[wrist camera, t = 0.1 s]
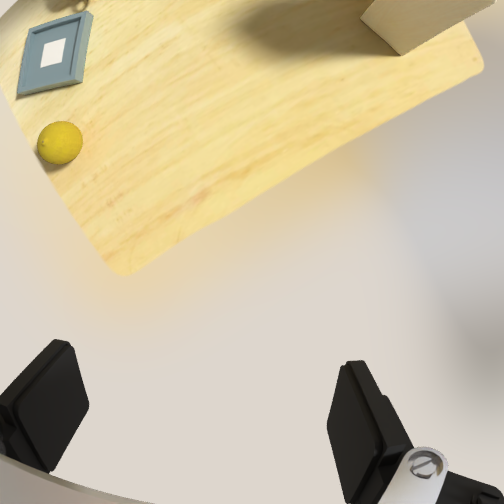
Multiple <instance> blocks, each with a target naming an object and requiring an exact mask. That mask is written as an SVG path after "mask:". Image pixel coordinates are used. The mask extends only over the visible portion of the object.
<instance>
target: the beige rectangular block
mask: <svg viewBox="0 0 504 504" xmlns="http://www.w3.org/2000/svg"><path fill="white" fill-rule="evenodd" d="M496 1H497V0H374V1H373V3H372V4H371V5H370V6H369V7H368V9H367V10H366V11H365V12H364V13H363V15H362V16H361V17H360V19H361V20H362V21H363V22H364V23H365V24H366V25H367V26H369V27H370V28H371V29H372V30H373V31H374V32H376V33H377V34H378V35H379V36H380V37H381V38H382V39H383V40H385V41H386V42H387V43H388V44H389V45H390V46H391V47H392V48H393V49H394V50H395V51H396V52H397V53H398V54H400V55H401V56H403V55H405V54H407V53H408V52H410V51H411V50H413V49H415V48H416V47H418V46H419V45H421V44H423V43H424V42H426V41H428V40H429V39H431V38H433V37H434V36H436V35H438V34H440V33H441V32H443V31H445V30H446V29H448V28H450V27H452V26H453V25H455V24H457V23H459V22H461V21H462V20H464V19H466V18H468V17H469V16H471V15H473V14H475V13H477V12H479V11H481V10H483V9H485V8H486V7H488V6H490V5H492V4H494V3H495V2H496Z"/></svg>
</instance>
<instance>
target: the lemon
mask: <svg viewBox="0 0 504 504" xmlns="http://www.w3.org/2000/svg"><path fill="white" fill-rule="evenodd" d="M82 144H83V139H82V134H81V132H80V130H79V129H78V127H76V126H75V125H74V124H72V123H69V122H66V121H59V122H54V123H52V124H49V125H48V126H46V127H45V128H44V129H43V130H42V131H41V133H40V135H39V137H38V142H37V148H38V152H39V154H40V156H41V157H42V158H43V159H44V160H45V161H47V162H49V163H52V164H65V163H68V162H70V161H72V160H73V159H74V158H76V157H77V155H78V154H79V152H80V150H81V148H82Z"/></svg>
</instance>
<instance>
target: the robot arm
mask: <svg viewBox="0 0 504 504" xmlns="http://www.w3.org/2000/svg"><path fill="white" fill-rule="evenodd" d="M88 409H89V401H88V397H87V394H86V391H85V388H84V384H83V381H82V377H81V373H80V370H79V366H78V362H77V358H76V354H75V350H74V348H73V347H72V346H71V345H70V343H69V342H67V341H63V340H57V339H54V340H53V341H52V342H51V343H50V344H49V345H48V346H47V347H46V348H45V349H44V350H43V351H42V352H41V353H40V354H39V355H38V356H37V357H36V358H35V359H34V360H33V361H32V362H31V363H30V364H29V365H28V366H27V367H26V368H25V369H24V370H23V371H22V373H20V375H19V376H18V377H17V378H16V379H15V380H14V381H13V382H12V383H11V384H10V385H9V386H8V387H7V389H6V390H5V391H4V392H3V393H2V394H1V395H0V504H153V503H148V502H142V501H138V500H133V499H129V498H124V497H120V496H116V495H112V494H108V493H104V492H101V491H98V490H94V489H91V488H87V487H84V486H81V485H78V484H75V483H72V482H69V481H66V480H63V479H60V478H58V477H55V476H52V475H50V474H49V473H50V471H54V469H55V468H56V466H57V464H58V462H59V461H60V459H61V457H62V455H63V453H64V451H65V450H66V448H67V446H68V444H69V443H70V441H71V439H72V437H73V435H74V434H75V432H76V430H77V429H78V427H79V425H80V423H81V421H82V420H83V418H84V416H85V415H86V413H87V411H88ZM327 431H328V435H329V439H330V443H331V447H332V450H333V455H334V459H335V463H336V467H337V471H338V474H339V479H340V483H341V487H342V491H343V495H344V499H345V502H346V503H347V504H350V503H351V504H504V496H503V494H502V493H501V491H500V490H498V489H497V488H496V487H494V486H491V485H488V484H485V483H482V482H479V481H476V480H473V479H470V478H467V477H464V476H461V475H458V474H455V473H453V472H450V471H447V470H448V463H447V460H446V458H445V457H444V455H443V454H442V453H440V452H439V451H438V450H435V449H433V448H429V447H417V448H414V447H413V445H412V443H411V441H410V439H409V437H408V435H407V433H406V431H405V429H404V427H403V425H402V423H401V421H400V419H399V417H398V415H397V413H396V411H395V409H394V408H393V406H392V404H391V402H390V400H389V398H388V397H387V396H385V395H382V394H381V392H380V390H379V388H378V386H377V384H376V382H375V380H374V378H373V376H372V374H371V372H370V371H369V369H368V367H367V365H366V363H365V362H364V361H363V360H361V361H360V360H359V361H347V362H346V364H345V365H344V366H343V365H342V366H341V367H340V371H339V376H338V380H337V384H336V388H335V393H334V397H333V401H332V405H331V409H330V413H329V417H328V420H327Z"/></svg>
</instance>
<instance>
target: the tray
mask: <svg viewBox="0 0 504 504" xmlns="http://www.w3.org/2000/svg"><path fill="white" fill-rule="evenodd" d="M92 21H93V15H92V14H91V13H89V12H88V11H84V12H80V13H77V14H73V15H70V16H66V17H63V18H60V19H56V20H53V21H50V22H47V23H44V24H41V25H39V26H36V27H33V28H30V29H29V32H28V36H27V40H26V45H25V49H24V54H23V59H22V65H21V71H20V77H19V83H18V90H17V93H18V94H23V95H28V94H32V93H36V92H40V91H44V90H48V89H52V88H57V87H62V86H66V85H71V84H77V83H82V81H83V73H84V66H85V59H86V53H87V47H88V41H89V36H90V31H91V26H92Z"/></svg>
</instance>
